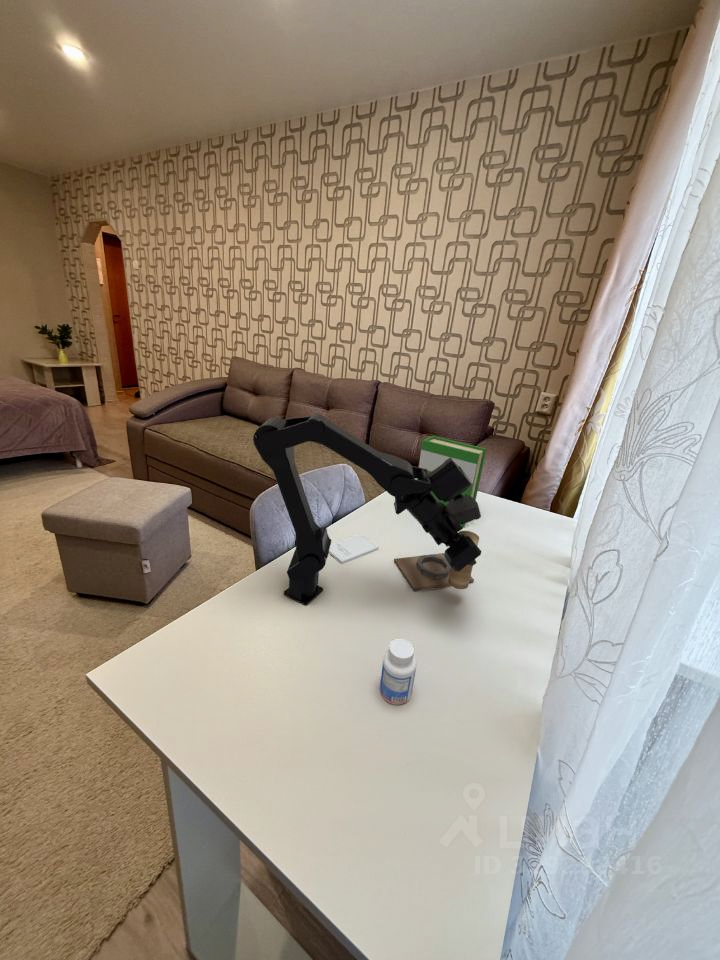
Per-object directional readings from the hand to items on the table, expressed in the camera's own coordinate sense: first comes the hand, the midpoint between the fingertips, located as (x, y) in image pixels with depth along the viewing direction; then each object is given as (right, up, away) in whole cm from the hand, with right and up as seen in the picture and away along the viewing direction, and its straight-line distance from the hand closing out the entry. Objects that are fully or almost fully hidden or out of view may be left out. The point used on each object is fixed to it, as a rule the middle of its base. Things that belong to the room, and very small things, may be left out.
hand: (469, 557), depth 85 cm
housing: (-6, -6, +14) cm, 16 cm away
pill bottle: (-18, -19, -19) cm, 32 cm away
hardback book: (+3, +5, +44) cm, 44 cm away
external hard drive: (-26, -2, +21) cm, 33 cm away
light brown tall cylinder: (-2, -6, +2) cm, 7 cm away
